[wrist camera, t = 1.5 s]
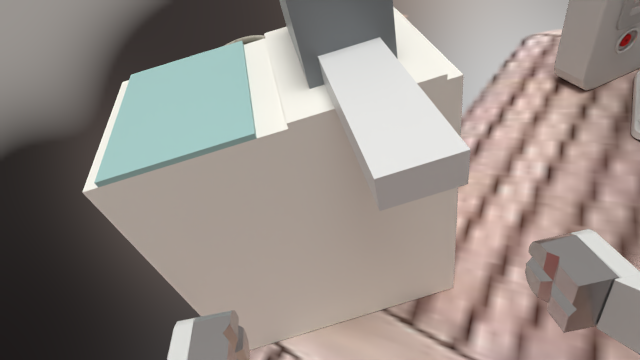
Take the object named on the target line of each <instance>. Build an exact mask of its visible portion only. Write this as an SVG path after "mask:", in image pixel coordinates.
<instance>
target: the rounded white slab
mask: <svg viewBox="0 0 640 360" xmlns="http://www.w3.org/2000/svg"><path fill="white" fill-rule="evenodd" d="M639 68H640V0H569V4H568V8H567V13H566V17H565V21H564V26H563V30H562V34H561V39H560V43H559V48H558V52H557V57H556V61H555V65H554V73H555V74H556V75H557V76H558V77H560V78H562V79H564V80H566V81H568V82H570V83H572V84H574V85H576V86H578V87H580V88H582V89H584V90H590V89H594V88H596V87H598V86H601V85H603V84H605V83H607V82H610V81H612V80H614V79H616V78H619V77H621V76H623V75H625V74H628V73H630V72H632V71H634V70H636V69H639Z"/></svg>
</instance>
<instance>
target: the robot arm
mask: <svg viewBox="0 0 640 360" xmlns="http://www.w3.org/2000/svg"><path fill="white" fill-rule="evenodd" d="M631 135H632V136H633V137H634V138H636V139H638V140H640V71H639V72H637V74H636V76H635V78H634V89H633V106H632V123H631ZM529 253H530V255H531V256H532V258H531V259H530V260H529V261H528V262H527V263H526V270H525V274H526V278H527V282H528V284H529V286H530V288H531V290H532V291H533V292H534V294H535V295H536V297H537V298H539V299H541V300H543V301H545V302H547V303H548V310H547V311H548V313H549V314H550V315H551V316H552V318H553V319H554V320H555V322H556V323H557V324H558V326H559V327H560V328H561V330H562V331H563V332H569V331H574V330H579V329H584V328H589V327H594V326H597V327H596V328H597V329H599V330H601V331H602V332H604V333H605V334H607V335H609V336H610V337H612V338H614V339H615V340H617V341H618V342H620V343H622V344H623V345H625V346H626V347H628V348H630V349H631V350H633V351H635V352H636V353H638V354H639V355H640V271H639V270H637V269H636V268H635V267H634V266H633V265H632V264H631V263H630V262H629V261H627V260H626V259H625V258H624V257H623V256H622V255H621V254H620V253H618V252H617V251H616V250H615V249H614V248H613V247H612V246H611V245H609V244H608V243H607V242H606V241H605V240H604V239H603V238H602V237H600V236H599V235H598V234H597V233H596V232H595V231H593V230H590V229H587V230H582V231H578V232H573V233H570V234H563V235H559V236H555V237H551V238H546V239H542V240H538V241H534V242H532V244H531V245H530V247H529ZM238 324H239V317H238V315H237V313H236V311H235V310H232V311H227V312H221V313H216V314H211V315H206V316H201V317H197V318H192V319H187V320H183V321H178V322H177V323H176V325H175V327H174V329H173V334H172V339H171V343H170V348H169V353H168V357H167V360H250V351H249V343H248V338H247V335H246V332H245V330H244V328H243V327H241V326H239V325H238Z"/></svg>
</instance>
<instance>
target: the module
mask: <svg viewBox="0 0 640 360" xmlns="http://www.w3.org/2000/svg"><path fill="white" fill-rule="evenodd" d="M280 4H281V7H282V11H283V14H284V18H285V21H286V25H287V29H288V32H289V35H290V37H291V40H292V43H293V45H294V48H295V51H296V53H297V56H298V59H299V61H300V64H301V67H302V70H303V72H304V75H305V78H306V80H307V83H308V86H309V88H310V89H311V88H315V87H318V86H321V85H325V87H326V89H327V92H328V94H329V96H330V98H331V101H332V103H333V105H334V108H335V110H336V112H337V115H338V117H339V119H340V121H341V124H342V126H343V128H344V131H345V133H346V135H347V137H348V140H349V142H350V144H351V147H352V149H353V151H354V154H355V156H356V158H357V160H358V163H359V165H360V167H361V170H362V172H363V174H364V176H365V179H366V181H367V183H368V186H369V188H370V190H371V193H372V195H373V197H374V199H375V202H376V204H377V206H378V209H379V211H382V210H385V209H388V208H392V207H395V206H398V205H401V204H405V203H408V202H411V201H414V200H418V199H421V198H424V197H427V196H431V195H434V194H437V193H440V192H444V191H447V190H450V189H453V188H457V187H460V186H463V185H466V184H468V176H469V162H470V148H469V147H468V146H467V145H466V143H465V142H464V141H463V140H462V139H461V137H460V136H459V135H458V134H457V132H456V131H455V130H454V129H453V127H452V126H451V125H450V124H449V122H448V121H447V120H446V119H445V117H444V116H443V115H442V114H441V112H440V111H439V110H438V109H437V107H436V106H435V105H434V104H433V103H432V101H431V100H430V99H429V98H428V96H427V95H426V94H425V93H424V91H423V90H422V89H421V88H420V86H419V85H418V84H417V83H416V81H415V80H414V79H413V78H412V76H411V75H410V74H409V73H408V72H407V70H406V69H405V68H404V67H403V65H402V64H401V63H400V62H399V60H398V58H397V46H396V34H395V22H394V10H393V0H280Z"/></svg>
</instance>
